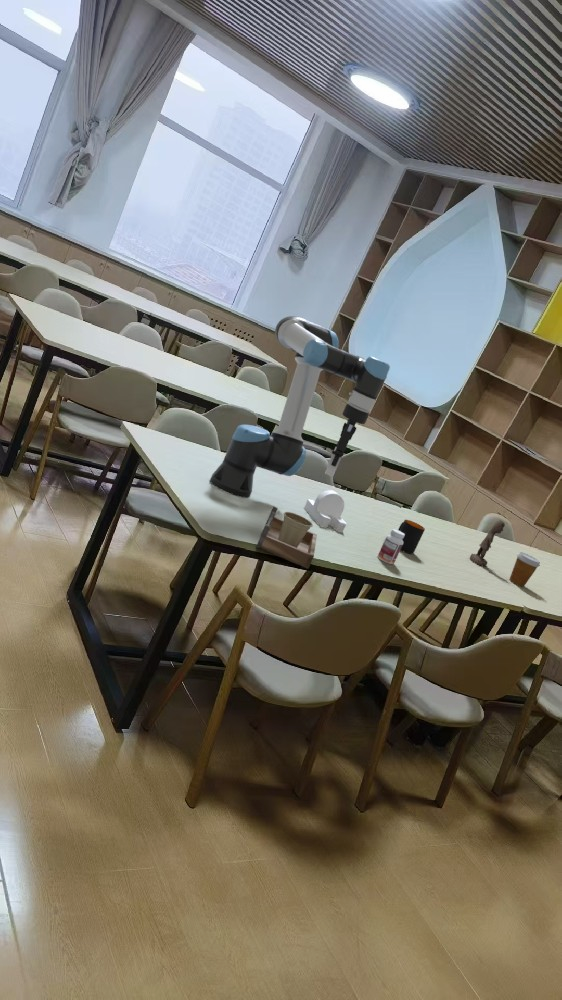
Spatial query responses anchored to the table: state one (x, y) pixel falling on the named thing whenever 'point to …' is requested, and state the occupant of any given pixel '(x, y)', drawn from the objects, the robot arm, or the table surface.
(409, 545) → the mug
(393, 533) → the pill bottle
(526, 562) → the disposable coffee cup
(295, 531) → the flower pot
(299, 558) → the wooden tray
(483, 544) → the figurine
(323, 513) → the bracket
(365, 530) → the table surface
